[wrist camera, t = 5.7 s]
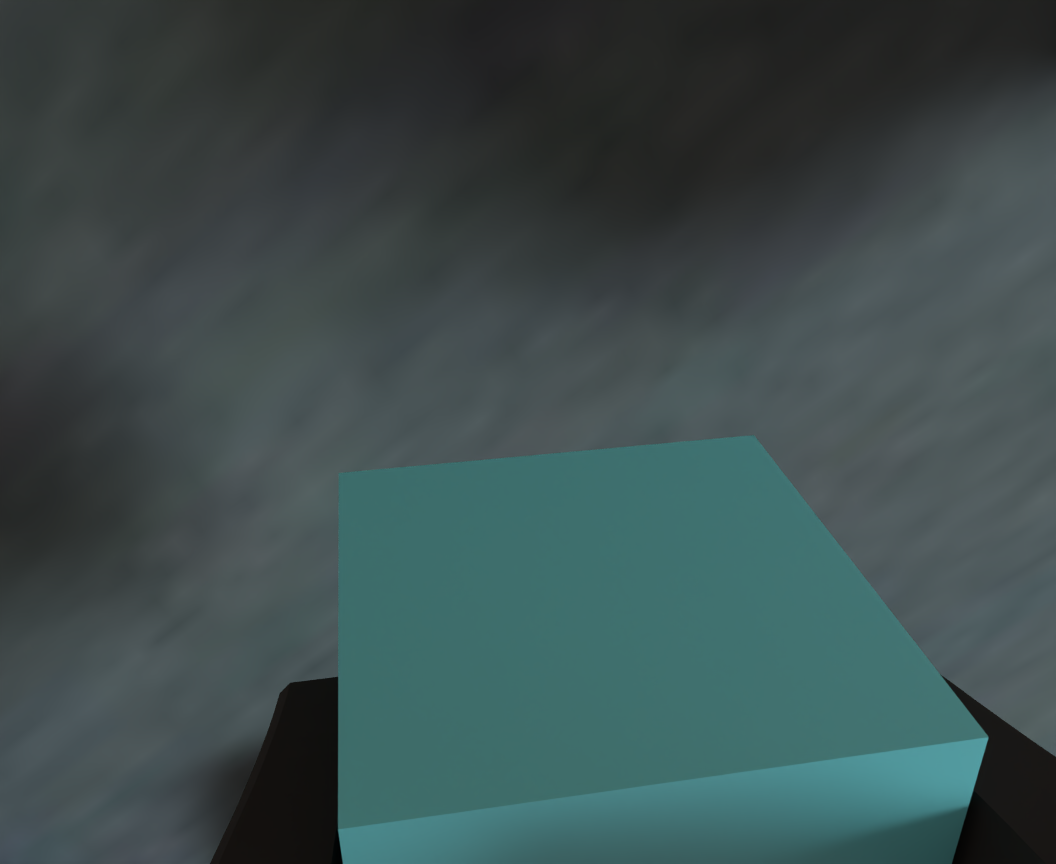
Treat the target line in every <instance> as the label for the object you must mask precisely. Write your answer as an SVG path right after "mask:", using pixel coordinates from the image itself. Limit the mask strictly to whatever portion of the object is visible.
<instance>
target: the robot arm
mask: <svg viewBox="0 0 1056 864" xmlns="http://www.w3.org/2000/svg"><path fill="white" fill-rule="evenodd" d="M941 676H942V675H941ZM942 678H943V679H944V680H945V682H946V683H947V684H948V685H949V687H950V688H951V689H952V691H953V692H954V693H955V694H956V696H957V697H958V698H959V700H960V701H961V702H962V703H963V705H964V706H965V707H966V709H967V710H968V711H969V712H970V714H971V715H972V716H973V718H974V719H975V720H976V721H977V723H978V724H979V725H980V727H981V728H982V729H983V730H984V732H985V733H986V734H987V736H988V737H989V738H988V741H987V745H986V748H985V752H984V755H983V758H982V762H981V765H980V769H979V772H978V775H977V779H976V782H975V786H974V789H973V793H972V796H971V799H970V803H969V806H968V810H967V813H966V816H965V820H964V823H963V827H962V830H961V834H960V837H959V840H958V844H957V847H956V851H955V854H954V857H953V861H952V864H1056V757H1055V756H1053V755H1052V754H1050V753H1049V752H1048V751H1046V750H1045V749H1043V748H1042V747H1040V746H1039V745H1037V744H1036V743H1035V742H1033V741H1032V740H1030V739H1029V738H1027V737H1026V736H1025V735H1023V734H1022V733H1020V732H1019V731H1018V730H1016V729H1015V728H1013V727H1012V726H1011V725H1009V724H1008V723H1006V722H1005V721H1003V720H1002V719H1001V718H999V717H998V716H997V715H995V714H994V713H992V712H991V711H990V710H988V709H987V708H985V707H984V706H983V705H981V704H980V703H979V702H977V701H976V700H974V699H973V698H972V697H970V696H969V695H968V694H966V693H965V692H964V691H962V690H961V689H959V688H958V687H957V686H955V685H954V684H953V683H951V682H950V681H949V680H947V679H946V678H944V677H943V676H942ZM210 864H343V860H342V854H341V847H340V840H339V833H338V677H333V678H325V679H317V680H309V681H301V682H293V683H290V684H289V685H288V686H287V687H286V688H285V689H284V690H283V691H282V692H281V693H280V694H279V698H278V701H277V705H276V708H275V711H274V714H273V718H272V720H271V723H270V726H269V729H268V732H267V735H266V737H265V740H264V743H263V745H262V748H261V751H260V753H259V756H258V758H257V761H256V763H255V766H254V768H253V771H252V773H251V775H250V778H249V780H248V782H247V785H246V787H245V790H244V792H243V794H242V797H241V799H240V801H239V804H238V806H237V808H236V810H235V812H234V814H233V817H232V819H231V821H230V823H229V825H228V827H227V829H226V831H225V833H224V836H223V838H222V840H221V842H220V844H219V846H218V848H217V850H216V853H215V855H214V857H213V859H212V861H211V863H210Z"/></svg>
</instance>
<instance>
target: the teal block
mask: <svg viewBox="0 0 1056 864" xmlns="http://www.w3.org/2000/svg"><path fill="white" fill-rule="evenodd" d="M988 738H989V737H988V736H987V734H986V733H985V732H984V730H983V729H982V728H981V727H980V725H979V724H978V723H977V721H976V720H975V719H974V718H973V716H972V715H971V714H970V712H969V711H968V710H967V709H966V707H965V706H964V705H963V703H962V702H961V701H960V700H959V698H958V697H957V696H956V694H955V693H954V692H953V691H952V689H951V688H950V687H949V685H948V684H947V683H946V682H945V680H944V679H943V678H942V676H941V675H940V674H939V673H938V671H937V670H936V669H935V667H934V666H933V665H932V664H931V662H930V661H929V660H928V658H927V657H926V656H925V655H924V653H923V652H922V651H921V649H920V648H919V647H918V646H917V644H916V643H915V642H914V640H913V639H912V638H911V637H910V635H909V634H908V633H907V631H906V630H905V629H904V628H903V626H902V625H901V624H900V622H899V621H898V620H897V619H896V617H895V616H894V615H893V613H892V612H891V611H890V610H889V608H888V607H887V606H886V604H885V603H884V602H883V601H882V599H881V598H880V597H879V595H878V594H877V593H876V592H875V590H874V589H873V588H872V586H871V585H870V584H869V583H868V581H867V580H866V579H865V577H864V576H863V575H862V574H861V572H860V571H859V570H858V568H857V567H856V566H855V565H854V563H853V562H852V561H851V559H850V558H849V557H848V556H847V554H846V553H845V552H844V550H843V549H842V548H841V547H840V545H839V544H838V543H837V541H836V540H835V539H834V538H833V536H832V535H831V534H830V532H829V531H828V530H827V529H826V527H825V526H824V525H823V523H822V522H821V521H820V520H819V518H818V517H817V516H816V514H815V513H814V512H813V511H812V509H811V508H810V507H809V505H808V504H807V503H806V502H805V500H804V499H803V498H802V497H801V495H800V494H799V493H798V491H797V490H796V489H795V488H794V486H793V485H792V484H791V482H790V481H789V480H788V479H787V477H786V476H785V475H784V473H783V472H782V471H781V470H780V468H779V467H778V466H777V464H776V463H775V462H774V461H773V459H772V458H771V457H770V455H769V454H768V453H767V452H766V450H765V449H764V448H763V446H762V445H761V444H760V443H759V441H758V440H757V439H756V437H755V436H754V435H751V436H740V437H729V438H718V439H707V440H696V441H685V442H674V443H663V444H652V445H641V446H631V447H620V448H609V449H598V450H587V451H576V452H565V453H554V454H543V455H532V456H521V457H510V458H499V459H488V460H477V461H466V462H455V463H444V464H433V465H422V466H411V467H400V468H389V469H378V470H367V471H356V472H345V473H339V615H338V833H339V840H340V847H341V854H342V860H343V864H952V861H953V857H954V854H955V851H956V847H957V844H958V840H959V837H960V834H961V830H962V827H963V823H964V820H965V816H966V813H967V810H968V806H969V803H970V799H971V796H972V793H973V789H974V786H975V782H976V779H977V775H978V772H979V769H980V765H981V762H982V758H983V755H984V752H985V748H986V745H987V741H988Z"/></svg>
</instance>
